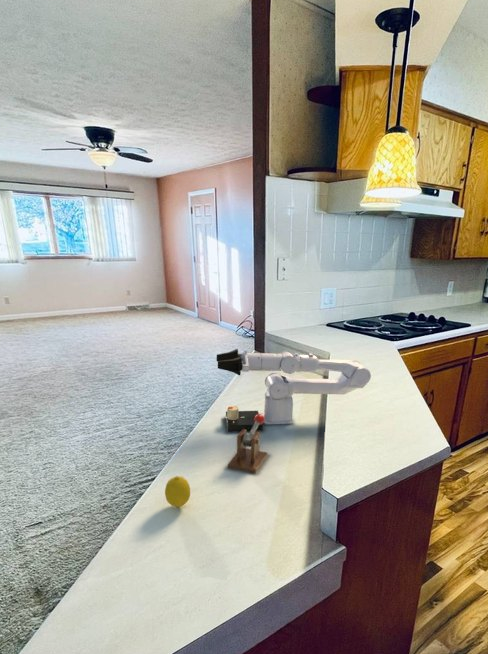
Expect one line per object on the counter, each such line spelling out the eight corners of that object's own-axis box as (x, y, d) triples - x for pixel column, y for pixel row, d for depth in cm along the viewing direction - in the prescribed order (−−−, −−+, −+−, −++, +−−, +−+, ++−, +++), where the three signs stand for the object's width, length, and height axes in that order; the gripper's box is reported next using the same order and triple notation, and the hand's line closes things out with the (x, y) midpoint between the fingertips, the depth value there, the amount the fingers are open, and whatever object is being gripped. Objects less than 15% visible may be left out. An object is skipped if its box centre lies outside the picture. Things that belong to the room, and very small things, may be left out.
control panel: (257, 417, 142) (257, 410, 141) (262, 431, 132) (262, 423, 131) (220, 418, 140) (220, 411, 139) (221, 432, 130) (221, 425, 129)
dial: (237, 415, 136) (238, 404, 135) (238, 420, 133) (238, 409, 132) (227, 415, 136) (227, 405, 134) (227, 420, 132) (227, 409, 131)
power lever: (256, 419, 121) (255, 411, 119) (266, 421, 120) (265, 413, 118) (242, 446, 112) (241, 437, 110) (252, 448, 111) (251, 439, 109)
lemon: (184, 515, 91) (183, 485, 88) (161, 511, 92) (159, 481, 89) (194, 501, 96) (193, 472, 93) (172, 497, 97) (171, 468, 94)
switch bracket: (241, 451, 120) (241, 423, 116) (267, 456, 118) (268, 428, 115) (227, 468, 111) (227, 439, 107) (255, 473, 109) (256, 444, 106)
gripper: (257, 344, 137) (216, 343, 134) (263, 356, 124) (218, 355, 121) (256, 364, 140) (216, 363, 137) (262, 378, 127) (218, 377, 124)
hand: (217, 361), depth 129 cm, fingers open, 7 cm apart
